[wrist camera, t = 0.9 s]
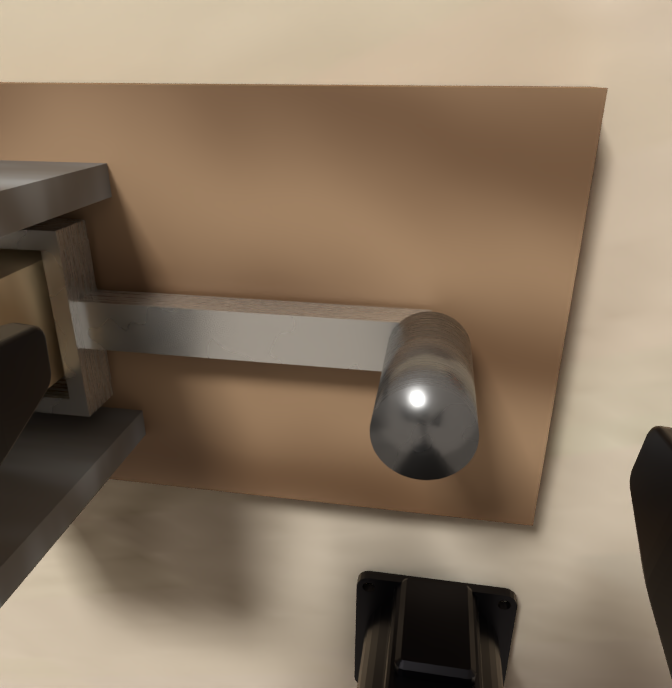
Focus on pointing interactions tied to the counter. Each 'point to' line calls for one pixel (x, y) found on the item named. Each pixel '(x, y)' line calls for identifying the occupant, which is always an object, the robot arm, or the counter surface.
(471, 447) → the sled
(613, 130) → the counter surface
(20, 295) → the maple block
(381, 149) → the tunnel deck
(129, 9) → the counter surface
